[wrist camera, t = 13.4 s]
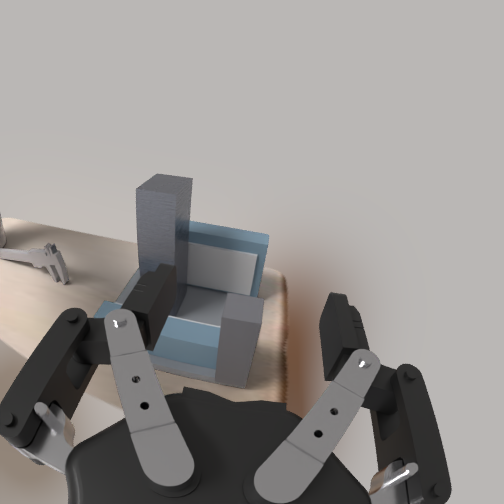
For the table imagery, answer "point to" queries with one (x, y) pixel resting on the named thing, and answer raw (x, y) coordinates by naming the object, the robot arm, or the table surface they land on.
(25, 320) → the table surface
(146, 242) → the steel block
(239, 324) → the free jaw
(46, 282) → the table surface
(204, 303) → the vise base
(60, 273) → the caliper
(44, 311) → the table surface
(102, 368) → the table surface
